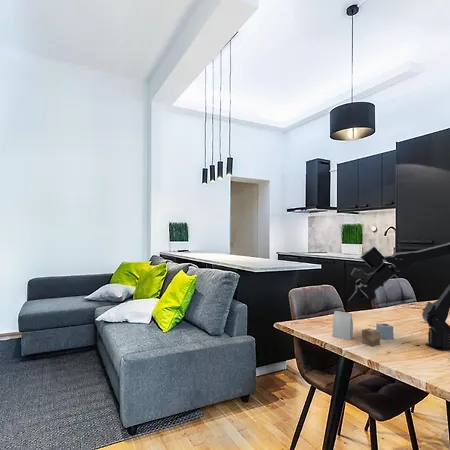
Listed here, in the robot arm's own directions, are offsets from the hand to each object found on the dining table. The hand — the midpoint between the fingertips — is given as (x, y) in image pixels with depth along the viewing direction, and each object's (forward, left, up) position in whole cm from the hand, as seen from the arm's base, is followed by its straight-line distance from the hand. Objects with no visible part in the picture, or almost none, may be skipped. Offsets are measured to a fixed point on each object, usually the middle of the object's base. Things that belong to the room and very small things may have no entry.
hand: (348, 302), depth 130 cm
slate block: (-2, -15, -14) cm, 21 cm away
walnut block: (-8, -4, -14) cm, 17 cm away
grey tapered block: (+1, +2, -14) cm, 14 cm away
